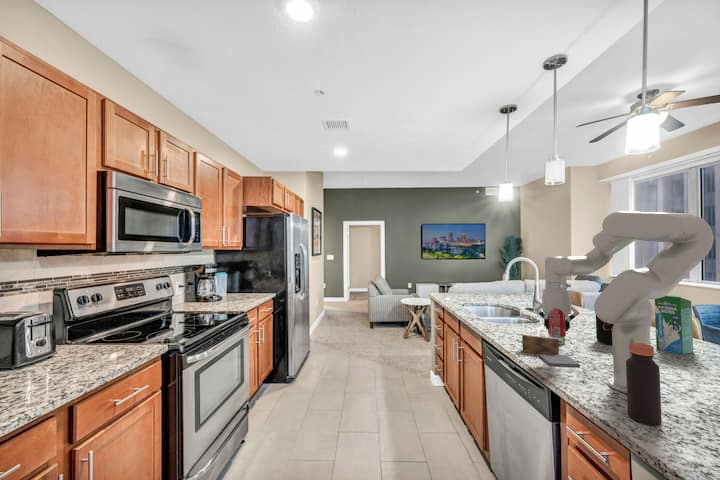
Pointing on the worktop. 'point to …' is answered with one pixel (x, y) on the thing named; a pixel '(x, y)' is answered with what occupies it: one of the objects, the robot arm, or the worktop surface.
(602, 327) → the coffee jar
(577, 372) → the worktop surface
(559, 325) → the beverage can
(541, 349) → the brown wooden block
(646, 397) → the bottle
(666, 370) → the worktop surface
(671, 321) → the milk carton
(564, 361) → the mat
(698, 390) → the worktop surface
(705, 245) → the robot arm
